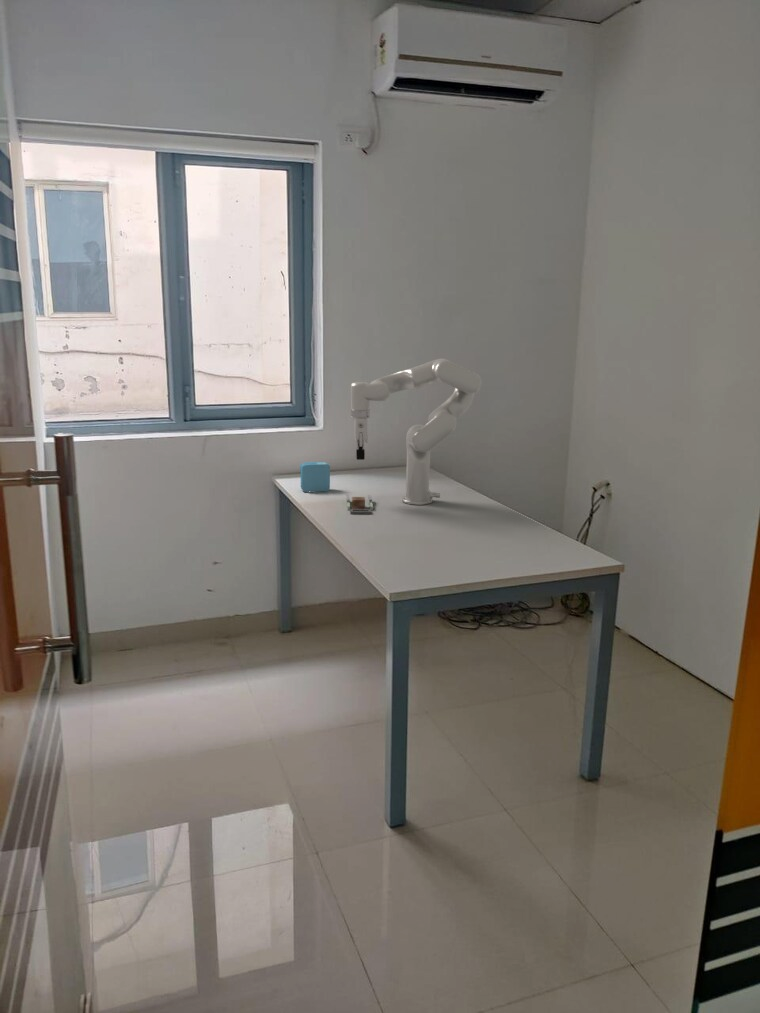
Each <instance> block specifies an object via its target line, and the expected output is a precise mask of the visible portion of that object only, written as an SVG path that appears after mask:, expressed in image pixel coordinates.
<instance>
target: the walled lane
mask: <svg viewBox="0 0 760 1013" xmlns="http://www.w3.org/2000/svg"><path fill="white" fill-rule="evenodd" d="M372 498H373V497H372V495H370V494H369V495H368V506H369V505H370V503H372V504H373V499H372ZM347 503H350V495H349V494H348V495H346V504H347ZM350 504H351V503H350Z"/></svg>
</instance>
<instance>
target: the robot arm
mask: <svg viewBox="0 0 760 1013" xmlns="http://www.w3.org/2000/svg"><path fill="white" fill-rule="evenodd" d="M438 382H439V383H440V382H442V383H444V384H446V385H448V386H450V387H453V388H454V391H453V393H452V394H451V395H450V396H449V397H448V398H447V399H446V400H445V401H444V402H443V403H441V404H440V405H439V406H438V407H436V408H435V409H434V410H432V411H431V413H429V416H428V420H427V421H428V422H427V423H425V425H423V424H413V426H410V427H409V428H408V430H407V432H406V435H405V436H406V437H405V438H406V439H405V442H406V443H405V445H406V471H405V473H406V474H405V476H406V477H405V478H406V479H405V495H404V496H402V497H401V502H402V503H404V504H408V505H417V506H422V505H424V506H425V505H429V504H431V503H433V498H436V499H437V498H438V499H439V498H441V493H440V492H436V491H434V492H433V491H432V492H431V491H430V473H431V472H430V471H431V467H430V466H431V451H432V450H433V449H434V448H437V446H439V445H440V444H441V443H442V442H443V441H444V440H446V439H447V438H448V437H449V436H450V435H451V434H453V432H454V431H455V429H456V428H457V419H459V418H461V416H462V415H464V414H465V413H466V411H467V410H469V408H470V407H471V405H472V403H473V402H474V401H473V400H474V397H475V393H478V392H479V391H480V389H481V388H482V384H483V382H482V378H481V376H480V375H479V374H478V373H477V372H474V371H472V370H469V369H467V368H465V367H464V366H461V365H460V364H456V363H454V362H453V361H451V360H449V359H446V358H436V359H433V360H431V361H428V362H425V363H423V364H421V365H420V364H419V365H417V366H414V367H411V368H407V369H404V370H401V371H397V372H395V373H391V374H388V375H385V376H382V377H380V378H377V379H375V380H372V381H371V382H370V383H369V382H365V381H354V382H351V384H350V418H351V419H353V432H354V434H353V435H354V441H355V443H356V453H355V454H356V456H355V457H356V460H357V461H359V460H361V461H363V460H365V458H366V457H365V454H366V452H365V444H368V442H369V434H368V432H369V431H368V430H369V429H368V428H369V424H368V419H369V418H371V401H372V402H384V401H386V400H388V399H389V398H390V396H391V394H395V393H398V392H402V391H414V390H419V389H422V388H424V387H427V386H429V385H432V384H435V383H438Z"/></svg>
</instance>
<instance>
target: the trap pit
mask: <svg viewBox="0 0 760 1013" xmlns="http://www.w3.org/2000/svg"><path fill="white" fill-rule="evenodd" d="M349 511H350V515H372V510H371V509H370V508H365V509H352V508H350V510H349Z"/></svg>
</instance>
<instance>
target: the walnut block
mask: <svg viewBox="0 0 760 1013" xmlns="http://www.w3.org/2000/svg"><path fill="white" fill-rule="evenodd" d="M351 509H366V497H365V496H352V497H351Z"/></svg>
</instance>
